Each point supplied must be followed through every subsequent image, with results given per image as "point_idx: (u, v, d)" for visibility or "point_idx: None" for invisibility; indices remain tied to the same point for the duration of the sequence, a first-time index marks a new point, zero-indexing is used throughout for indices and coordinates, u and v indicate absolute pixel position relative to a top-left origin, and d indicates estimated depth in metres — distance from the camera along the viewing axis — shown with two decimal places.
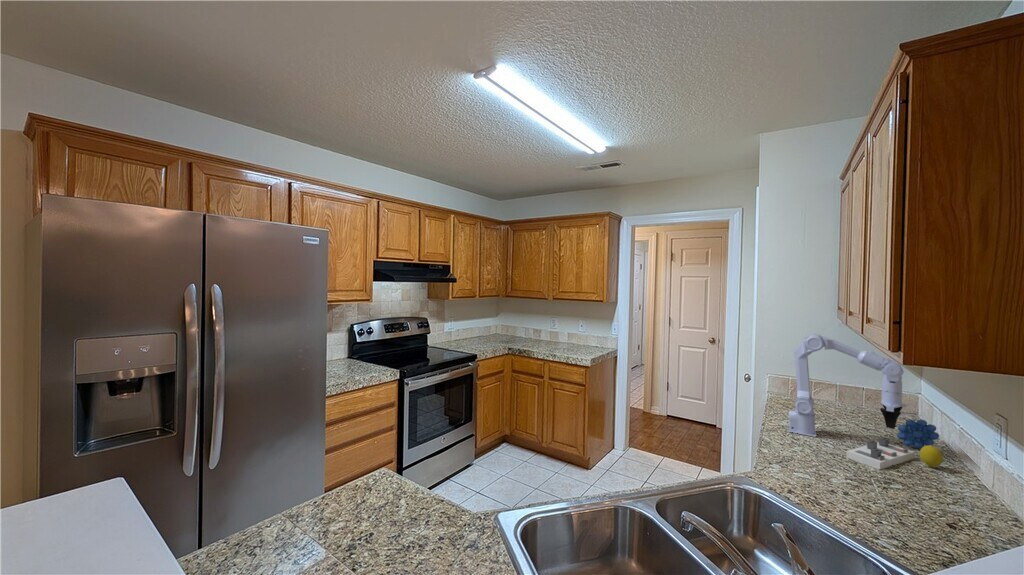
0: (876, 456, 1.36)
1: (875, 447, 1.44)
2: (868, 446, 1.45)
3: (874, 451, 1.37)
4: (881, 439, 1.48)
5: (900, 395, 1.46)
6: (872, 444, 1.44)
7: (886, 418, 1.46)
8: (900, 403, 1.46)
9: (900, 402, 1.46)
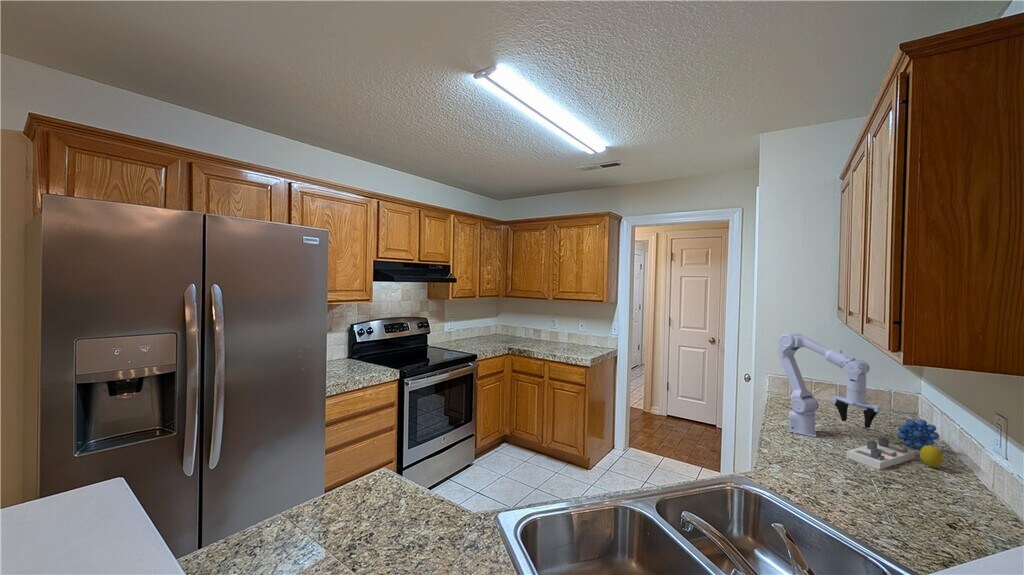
0: (876, 456, 1.36)
1: (875, 447, 1.44)
2: (868, 446, 1.45)
3: (874, 451, 1.37)
4: (881, 439, 1.48)
5: (848, 391, 1.50)
6: (872, 444, 1.44)
7: None
8: (848, 399, 1.50)
9: (848, 398, 1.50)
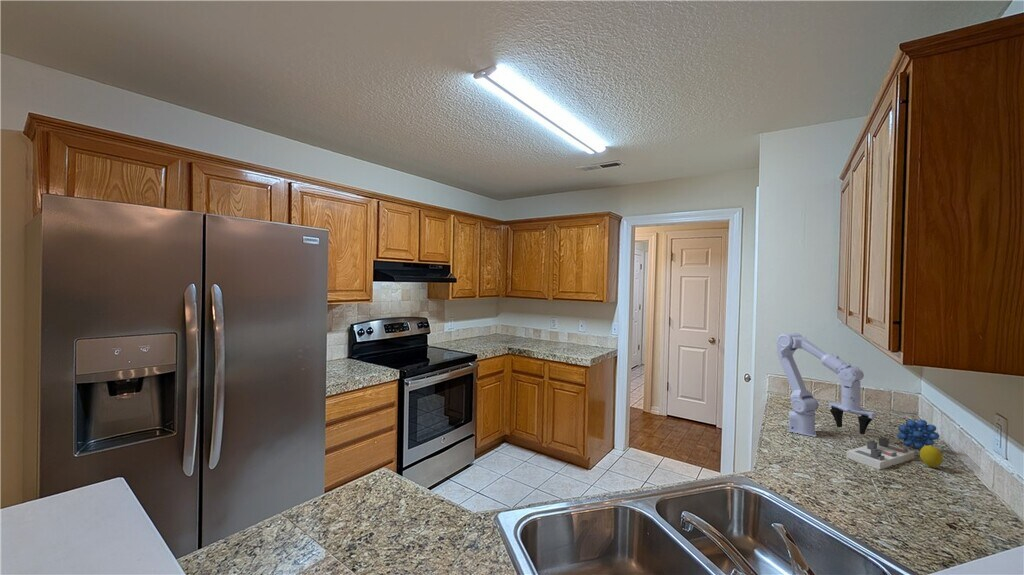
0: (876, 456, 1.36)
1: (875, 447, 1.44)
2: (868, 446, 1.45)
3: (874, 451, 1.37)
4: (881, 439, 1.48)
5: (843, 398, 1.51)
6: (872, 444, 1.44)
7: None
8: (843, 406, 1.51)
9: (843, 405, 1.51)
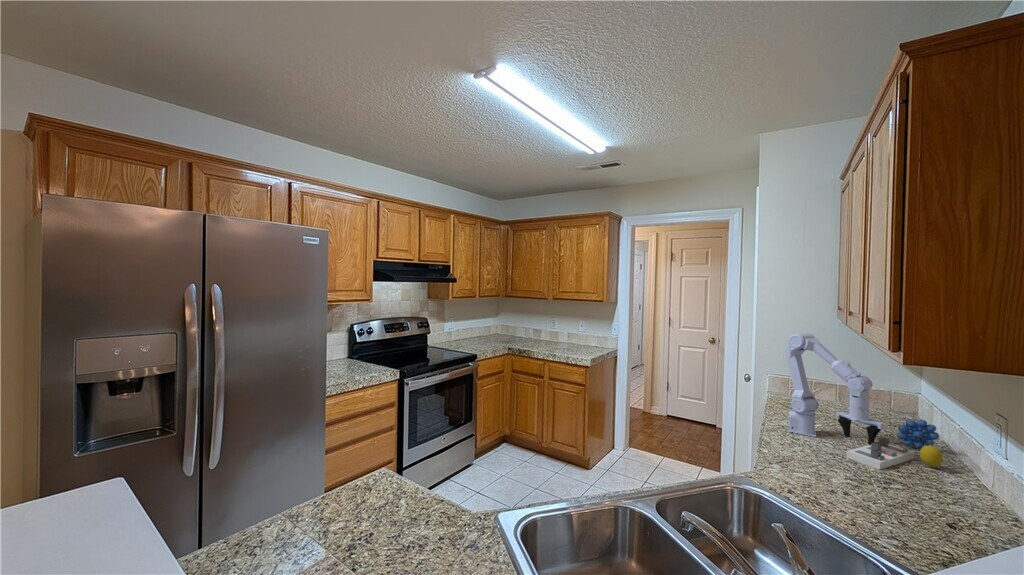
0: (876, 456, 1.36)
1: (879, 448, 1.43)
2: (872, 447, 1.44)
3: (874, 451, 1.37)
4: (881, 439, 1.48)
5: (851, 408, 1.49)
6: (876, 445, 1.43)
7: None
8: (851, 416, 1.49)
9: (851, 415, 1.49)
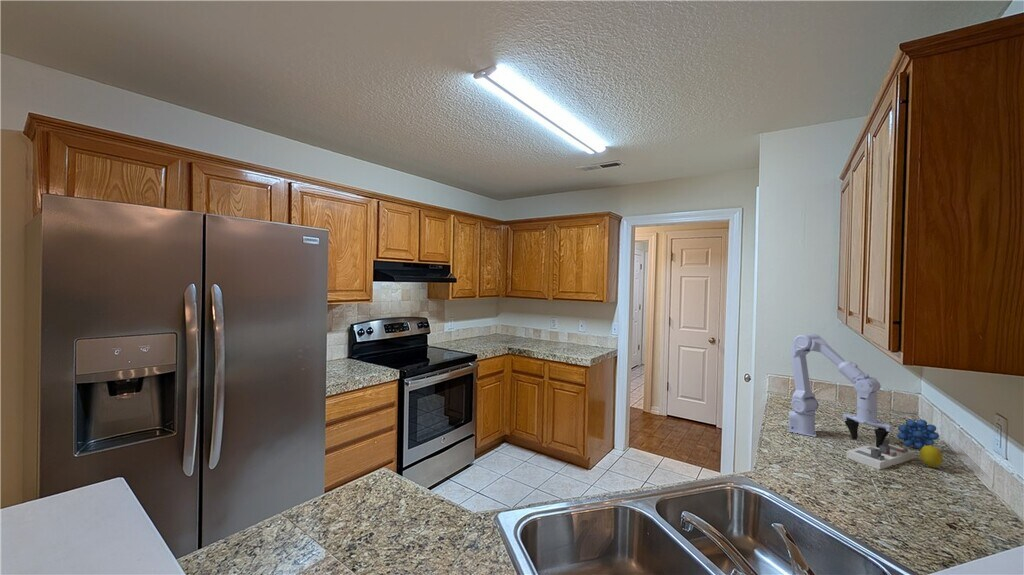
0: (876, 456, 1.36)
1: (888, 451, 1.40)
2: (880, 450, 1.41)
3: (874, 451, 1.37)
4: None
5: (858, 410, 1.47)
6: (885, 448, 1.40)
7: None
8: (859, 418, 1.47)
9: (859, 417, 1.47)
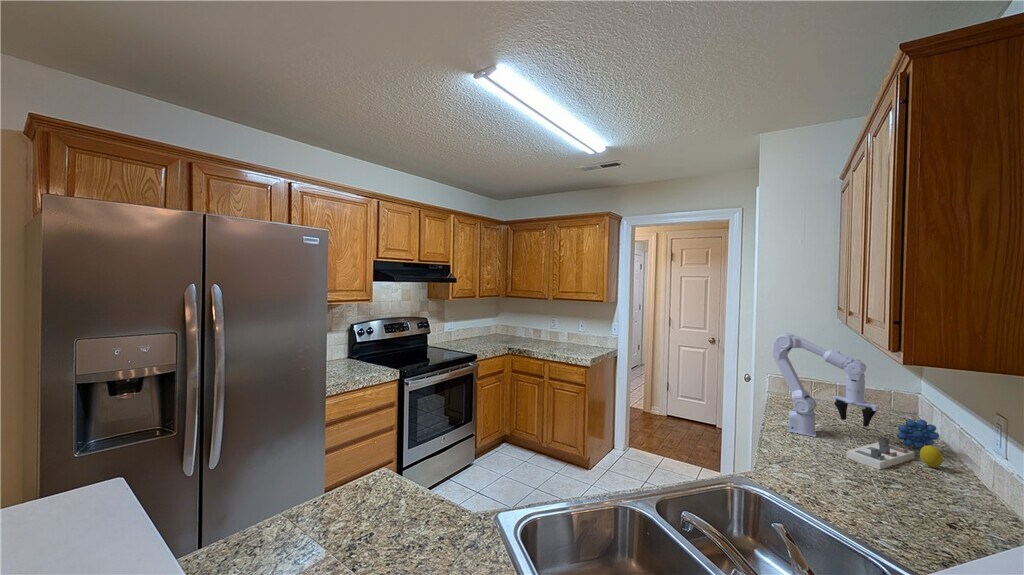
0: (876, 456, 1.36)
1: (888, 451, 1.40)
2: (880, 450, 1.41)
3: (874, 451, 1.37)
4: (881, 439, 1.48)
5: (847, 391, 1.54)
6: (885, 448, 1.40)
7: None
8: (847, 399, 1.54)
9: (847, 398, 1.54)
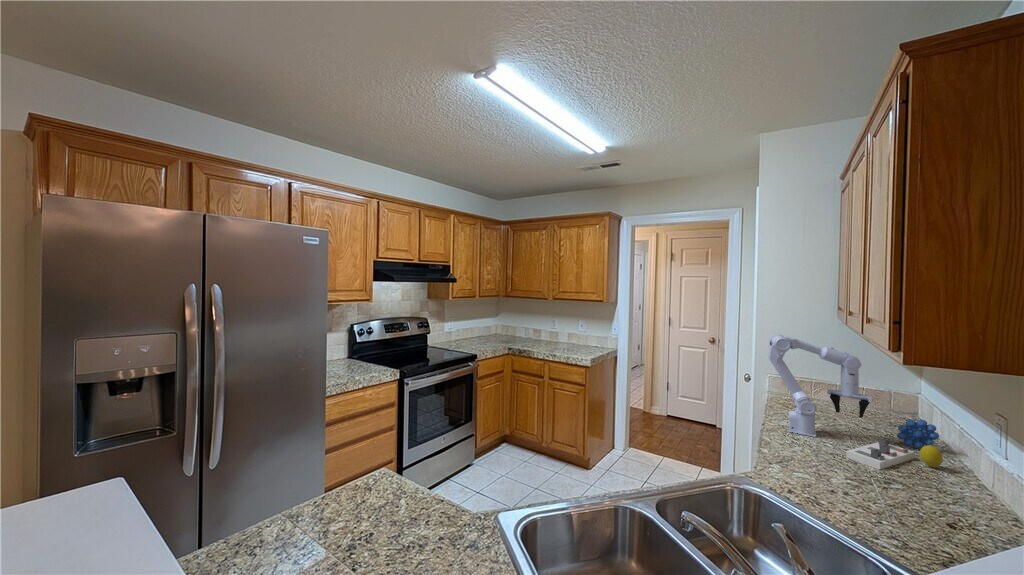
0: (876, 456, 1.36)
1: (888, 451, 1.40)
2: (880, 450, 1.41)
3: (874, 451, 1.37)
4: (881, 439, 1.48)
5: (843, 385, 1.60)
6: (885, 448, 1.40)
7: None
8: (843, 392, 1.60)
9: (843, 391, 1.60)
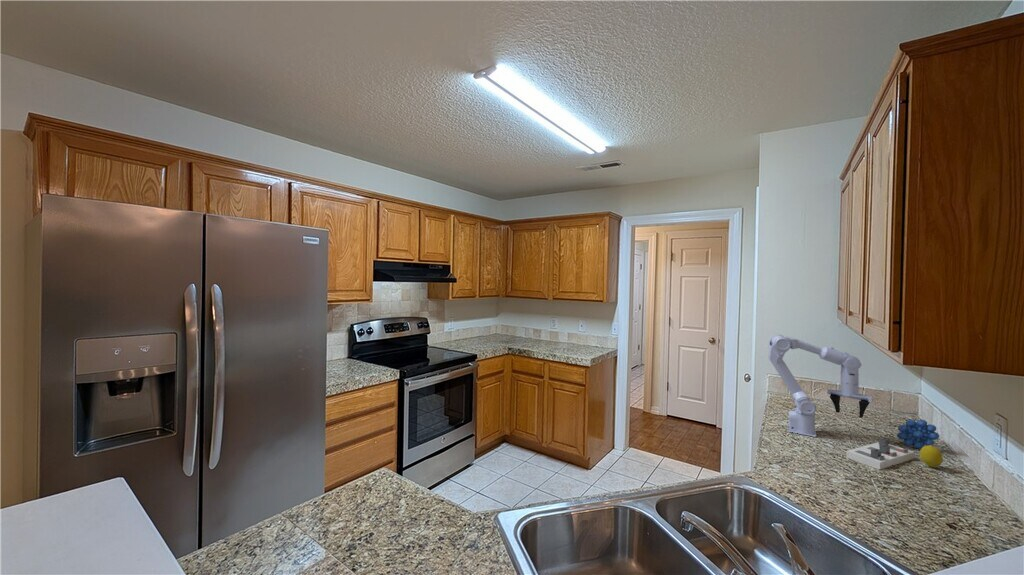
0: (876, 456, 1.36)
1: (888, 451, 1.40)
2: (880, 450, 1.41)
3: (874, 451, 1.37)
4: (881, 439, 1.48)
5: (843, 385, 1.60)
6: (885, 448, 1.40)
7: None
8: (843, 392, 1.60)
9: (843, 391, 1.60)
